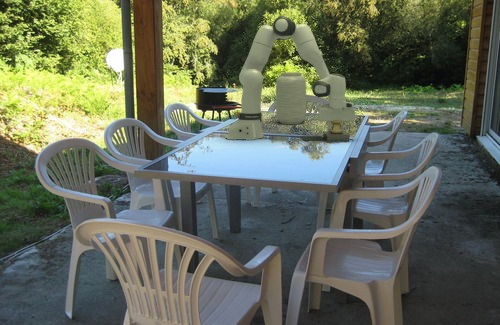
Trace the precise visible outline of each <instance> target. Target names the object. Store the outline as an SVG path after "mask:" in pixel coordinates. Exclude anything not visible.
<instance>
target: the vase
mask: <svg viewBox="0 0 500 325" xmlns="http://www.w3.org/2000/svg"><path fill="white" fill-rule="evenodd" d="M306 113H307V79H306V78H305V77H304V76H303V75H302V72H295V71H294V72H291V71H290V72H281V73H280V76H278V77H277V78H276V81H275V115H276V119H277V120H278V121H279V122H280V124H281V123H282V125H289V124H293V125H301V124H302V122H303V121H304V120H305V119H306V116H307V114H306Z"/></svg>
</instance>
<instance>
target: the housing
mask: <svg viewBox="0 0 500 325" xmlns="http://www.w3.org/2000/svg"><path fill="white" fill-rule="evenodd" d="M322 133H323V134H322V137H323V138H324V139H325V140H324V141H325V142H326V143H350V134H349V133H348V132H346V131H345V130H343V131H341V134H332V131H328V130H327V131H325V130H324V131H323V132H322Z"/></svg>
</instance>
